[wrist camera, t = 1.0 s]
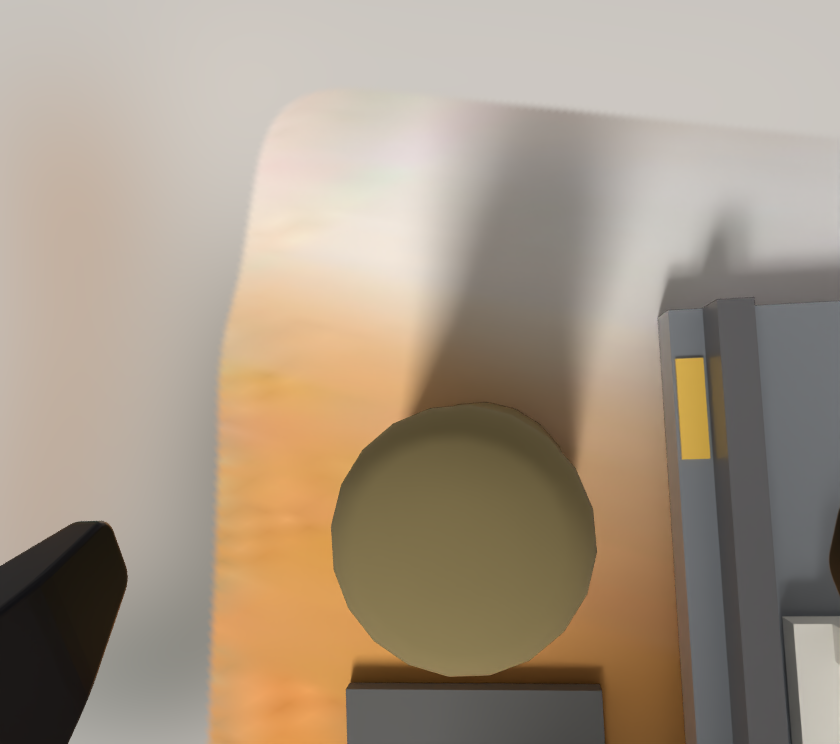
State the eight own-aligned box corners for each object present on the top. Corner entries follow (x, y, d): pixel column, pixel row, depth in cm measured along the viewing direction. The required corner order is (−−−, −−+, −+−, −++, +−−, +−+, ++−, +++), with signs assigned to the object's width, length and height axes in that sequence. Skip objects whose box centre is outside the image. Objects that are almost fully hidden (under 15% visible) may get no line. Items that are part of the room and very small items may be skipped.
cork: (449, 622, 23) (397, 794, 12) (355, 462, 24) (228, 489, 13) (609, 527, 23) (704, 618, 12) (509, 367, 24) (511, 314, 13)
